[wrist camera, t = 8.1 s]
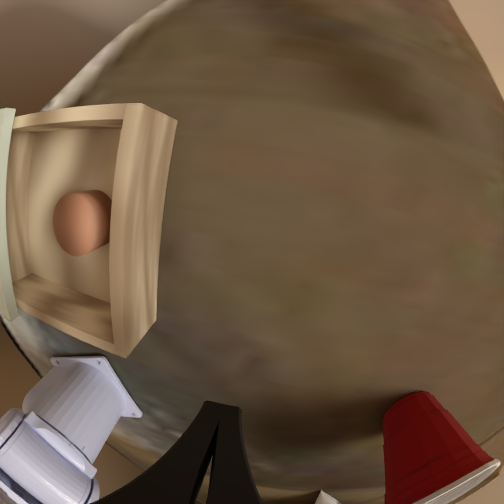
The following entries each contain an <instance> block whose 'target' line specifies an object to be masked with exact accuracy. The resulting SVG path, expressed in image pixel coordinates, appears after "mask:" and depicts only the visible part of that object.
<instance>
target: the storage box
mask: <svg viewBox="0 0 504 504" xmlns="http://www.w3.org/2000/svg"><path fill="white" fill-rule="evenodd" d="M176 126H177V120H175V119H173V118H171V117H169V116H167V115H165V114H163V113H161V112H159V111H157V110H155V109H152V108H150V107H148V106H146V105H144V104H142V103H125V104H104V105H91V106H80V107H71V108H63V109H56V110H50V111H43V112H38V113H32V114H27V115H23V116H18V117H14V121H13V126H12V132H11V139H10V146H9V154H8V164H7V178H6V233H7V247H8V257H9V265H10V273H11V279H12V285H13V291H14V296H15V301H16V306H17V307H18V308H20V309H21V310H23V311H25V312H27V313H28V314H30V315H32V316H34V317H36V318H37V319H39V320H41V321H43V322H45V323H47V324H49V325H51V326H53V327H55V328H57V329H59V330H61V331H63V332H65V333H67V334H69V335H71V336H73V337H75V338H78V339H80V340H82V341H84V342H87V343H89V344H91V345H94V346H96V347H98V348H101V349H103V350H106V351H108V352H111V353H113V354H116V355H118V356H121V357H124V358H127V357H128V356H129V354H130V353H131V352H132V350H133V349H134V348H135V346H136V345H137V344H138V343H139V341H140V340H141V339H142V337H143V336H144V335H145V334H146V332H147V331H148V330H149V328H150V327H151V326H152V325H153V323H154V322H155V321H156V306H157V281H158V264H159V250H160V239H161V228H162V218H163V209H164V201H165V193H166V186H167V179H168V172H169V166H170V159H171V153H172V148H173V142H174V137H175V131H176Z"/></svg>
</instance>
